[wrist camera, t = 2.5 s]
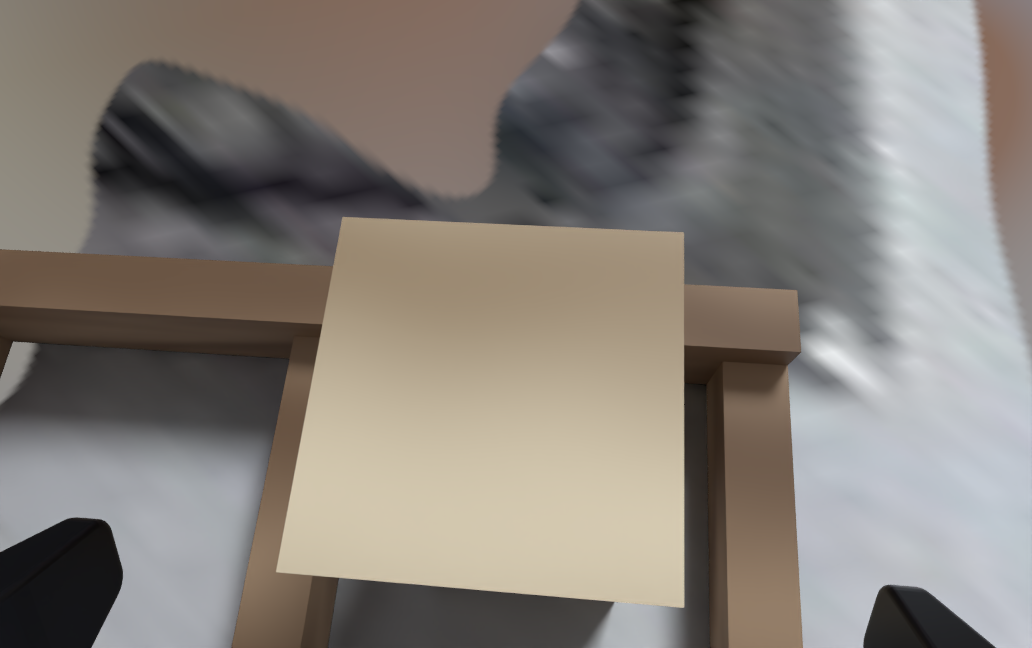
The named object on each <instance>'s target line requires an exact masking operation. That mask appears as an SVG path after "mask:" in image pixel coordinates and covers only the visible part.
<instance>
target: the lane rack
mask: <svg viewBox="0 0 1032 648" xmlns="http://www.w3.org/2000/svg"><path fill="white" fill-rule="evenodd" d="M332 271H333V266H314V265H295V264H275V263H256V262H236V261H217V260H197V259H178V258H158V257H139V256H119V255H99V254H80V253H58V252H41V251H21V250H2V249H0V377H1V374H2V371H3V369H4V365H5V363H6V360H7V357H8V354H9V351H10V348H11V345H12V343H13V341H15V342H30V343H46V344H63V345H79V346H95V347H111V348H127V349H143V350H159V351H175V352H191V353H207V354H223V355H239V356H255V357H272V358H288V359H289V364H288V369H287V374H286V379H285V384H284V389H283V394H282V399H281V404H280V409H279V414H278V419H277V424H276V429H275V434H274V439H273V444H272V449H271V454H270V459H269V464H268V469H267V474H266V479H265V484H264V489H263V493H262V498H261V503H260V508H259V513H258V518H257V523H256V528H255V533H254V538H253V543H252V548H251V553H250V558H249V563H248V568H247V573H246V578H245V583H244V588H243V593H242V598H241V603H240V608H239V613H238V618H237V623H236V628H235V633H234V638H233V643H232V647H231V648H328V642H329V636H330V629H331V623H332V617H333V610H334V604H335V598H336V592H337V585H338V579H339V578H337V577H325V576H314V575H302V574H291V573H279V572H276V569H277V564H278V558H279V553H280V548H281V542H282V537H283V532H284V526H285V521H286V516H287V510H288V505H289V500H290V494H291V489H292V484H293V478H294V473H295V468H296V462H297V457H298V452H299V447H300V441H301V436H302V431H303V425H304V420H305V415H306V409H307V404H308V399H309V393H310V388H311V383H312V377H313V372H314V367H315V361H316V356H317V351H318V345H319V340H320V335H321V330H322V324H323V319H324V314H325V308H326V303H327V298H328V292H329V287H330V282H331V276H332ZM800 353H801V343H800V327H799V310H798V294H797V290H783V289H763V288H744V287H724V286H705V285H685V284H684V383H690V384H706V385H707V465H708V546H709V627H710V648H803V642H802V623H801V605H800V586H799V568H798V549H797V531H796V512H795V494H794V475H793V457H792V438H791V419H790V401H789V382H788V364H789V363H790V362H792V361H793V360H794V359H795V358H796V357H797V356H798V355H799V354H800Z"/></svg>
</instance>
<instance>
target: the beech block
mask: <svg viewBox="0 0 1032 648" xmlns="http://www.w3.org/2000/svg"><path fill="white" fill-rule="evenodd" d="M276 572H279V573H291V574H302V575H314V576H325V577H337V578H348V579H360V580H371V581H382V582H394V583H405V584H417V585H428V586H440V587H451V588H463V589H474V590H486V591H497V592H508V593H520V594H531V595H543V596H554V597H566V598H577V599H589V600H600V601H612V602H623V603H635V604H646V605H657V606H669V607H680V608H684V233H682V232H660V231H638V230H616V229H593V228H571V227H549V226H527V225H505V224H483V223H461V222H439V221H417V220H395V219H373V218H351V217H343V218H342V223H341V228H340V234H339V239H338V244H337V250H336V255H335V260H334V266H333V271H332V276H331V282H330V287H329V292H328V298H327V303H326V308H325V314H324V319H323V324H322V330H321V335H320V340H319V345H318V351H317V356H316V361H315V367H314V372H313V377H312V383H311V388H310V393H309V399H308V404H307V409H306V415H305V420H304V425H303V431H302V436H301V441H300V447H299V452H298V457H297V462H296V468H295V473H294V478H293V484H292V489H291V494H290V500H289V505H288V510H287V516H286V521H285V526H284V532H283V537H282V542H281V548H280V553H279V558H278V564H277V569H276Z"/></svg>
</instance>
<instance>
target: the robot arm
mask: <svg viewBox="0 0 1032 648" xmlns="http://www.w3.org/2000/svg"><path fill="white" fill-rule="evenodd" d="M122 580H123V570H122V565H121V562H120V558H119V555H118V551H117V548H116V544H115V541H114V537H113V534H112V530H111V528H110V526H109V525H108V524H107V523H106V522H105V521H103V520H100V519H90V518H69V519H66V520H64V521H62V522H60V523H58V524H56V525H54V526H52V527H50V528H48V529H46V530H44V531H42V532H40V533H38V534H36V535H34V536H32V537H30V538H28V539H26V540H24V541H22V542H20V543H18V544H16V545H14V546H12V547H10V548H8V549H6V550H4V551H2V552H0V648H91V647H92V645H93V643H94V641H95V639H96V637H97V635H98V633H99V631H100V629H101V627H102V625H103V623H104V622H105V620H106V618H107V616H108V614H109V612H110V610H111V608H112V606H113V604H114V602H115V600H116V598H117V596H118V594H119V591H120V589H121V585H122ZM863 648H996V647H995V646H993V645H992V644H991V643H990V642H989V641H987V640H986V639H985V638H984V637H982V636H981V635H980V634H979V633H978V632H976V631H975V630H974V629H973V628H972V627H970V626H969V625H968V624H967V623H965V622H964V621H963V620H962V619H961V618H959V617H958V616H957V615H956V614H955V613H953V612H952V611H951V610H950V609H948V608H947V607H946V606H945V605H944V604H942V603H941V602H940V601H939V600H938V599H936V598H935V597H934V596H933V595H931V594H930V593H929V592H927V591H926V590H924V589H922V588H918V587H911V586H899V585H886V586H883V587H882V588H881V589H880V590H879V592H878V594H877V597H876V601H875V604H874V607H873V610H872V613H871V617H870V620H869V623H868V626H867V629H866V633H865V637H864V644H863Z"/></svg>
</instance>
